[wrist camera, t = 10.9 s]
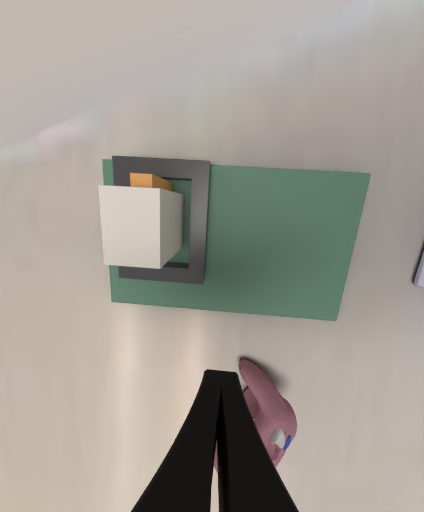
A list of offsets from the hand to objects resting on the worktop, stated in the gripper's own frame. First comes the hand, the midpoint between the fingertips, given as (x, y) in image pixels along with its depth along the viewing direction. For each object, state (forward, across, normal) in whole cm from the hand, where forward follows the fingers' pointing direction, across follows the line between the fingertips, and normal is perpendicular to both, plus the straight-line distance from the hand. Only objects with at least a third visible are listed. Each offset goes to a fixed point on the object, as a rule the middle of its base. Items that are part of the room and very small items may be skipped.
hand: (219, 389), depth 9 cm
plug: (+9, +5, -6) cm, 12 cm away
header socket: (+10, +5, -6) cm, 13 cm away
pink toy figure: (+11, -3, +12) cm, 16 cm away
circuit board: (+10, 0, -4) cm, 11 cm away
